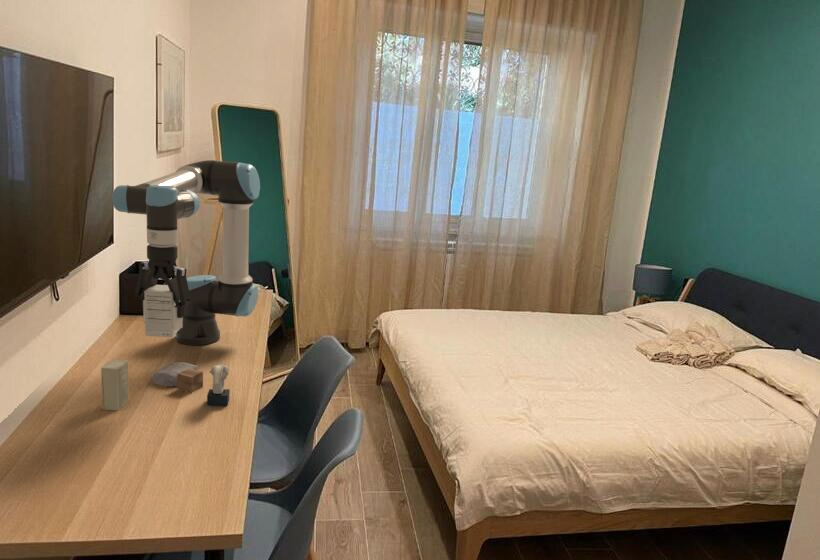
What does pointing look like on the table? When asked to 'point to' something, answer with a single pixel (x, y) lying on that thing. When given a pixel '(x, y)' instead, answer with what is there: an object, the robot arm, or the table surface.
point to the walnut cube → (190, 380)
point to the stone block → (171, 373)
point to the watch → (218, 387)
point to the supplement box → (159, 311)
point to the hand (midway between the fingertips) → (163, 325)
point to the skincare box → (114, 384)
